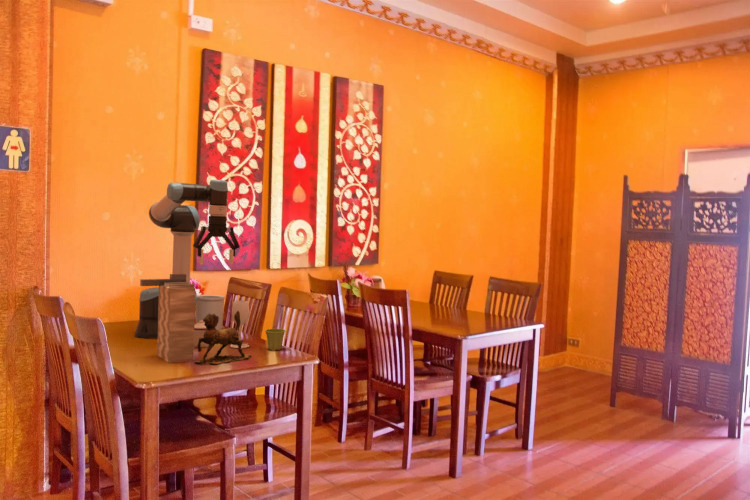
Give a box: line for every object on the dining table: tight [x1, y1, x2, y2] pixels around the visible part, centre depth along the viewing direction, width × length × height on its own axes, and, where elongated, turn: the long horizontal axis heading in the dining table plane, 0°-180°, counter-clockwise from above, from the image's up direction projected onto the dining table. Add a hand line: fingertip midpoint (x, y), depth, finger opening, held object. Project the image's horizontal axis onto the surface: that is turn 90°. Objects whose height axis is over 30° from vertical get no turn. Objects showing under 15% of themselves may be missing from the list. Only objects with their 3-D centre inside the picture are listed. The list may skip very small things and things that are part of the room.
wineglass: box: [229, 300, 251, 349], centre depth 280 cm, size 9×9×21 cm
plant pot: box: [264, 328, 286, 351], centre depth 278 cm, size 9×9×9 cm
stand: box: [156, 282, 196, 364], centre depth 252 cm, size 16×10×32 cm, turn 36°
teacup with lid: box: [194, 321, 209, 349], centre depth 279 cm, size 12×9×12 cm
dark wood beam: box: [139, 273, 186, 287], centre depth 253 cm, size 3×18×4 cm, turn 126°
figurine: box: [194, 311, 252, 366], centre depth 251 cm, size 13×25×20 cm, turn 128°
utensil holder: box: [195, 294, 225, 330], centre depth 322 cm, size 15×15×18 cm
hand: (216, 264), depth 265 cm, fingers open, 13 cm apart
